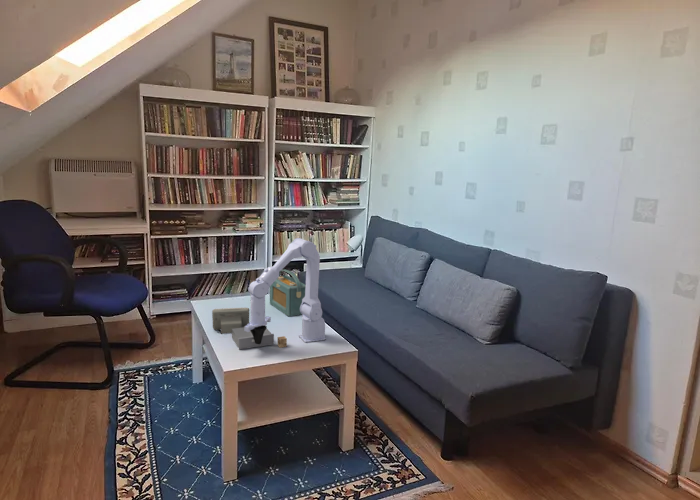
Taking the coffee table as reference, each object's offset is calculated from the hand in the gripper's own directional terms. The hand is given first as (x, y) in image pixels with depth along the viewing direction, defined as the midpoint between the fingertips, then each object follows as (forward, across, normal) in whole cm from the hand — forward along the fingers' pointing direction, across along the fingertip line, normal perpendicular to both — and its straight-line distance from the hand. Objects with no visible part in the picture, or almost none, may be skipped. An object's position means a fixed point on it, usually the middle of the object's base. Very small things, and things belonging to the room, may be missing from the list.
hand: (257, 343), depth 190 cm
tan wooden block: (+2, +8, -6) cm, 10 cm away
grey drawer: (+2, +5, +6) cm, 8 cm away
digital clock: (+3, +11, +24) cm, 26 cm away
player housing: (+2, +6, +8) cm, 10 cm away
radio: (+3, +50, +20) cm, 54 cm away
